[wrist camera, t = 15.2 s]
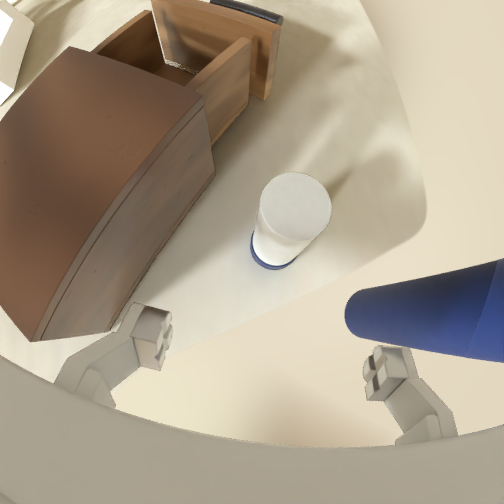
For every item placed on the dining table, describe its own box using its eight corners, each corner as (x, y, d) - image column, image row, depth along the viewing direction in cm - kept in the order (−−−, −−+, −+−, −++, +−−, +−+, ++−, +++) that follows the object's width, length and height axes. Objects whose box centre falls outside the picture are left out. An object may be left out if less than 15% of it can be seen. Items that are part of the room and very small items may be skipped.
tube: (305, 240, 22) (346, 196, 13) (281, 279, 21) (310, 258, 12) (266, 215, 22) (283, 156, 13) (241, 252, 21) (242, 214, 13)
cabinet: (109, 114, 23) (69, 45, 14) (216, 174, 22) (203, 94, 13) (18, 242, 21) (-55, 213, 11) (107, 332, 20) (30, 342, 10)
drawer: (203, 28, 25) (198, -28, 17) (297, 65, 24) (312, 3, 16) (77, 150, 22) (32, 100, 14) (171, 214, 21) (138, 165, 13)
